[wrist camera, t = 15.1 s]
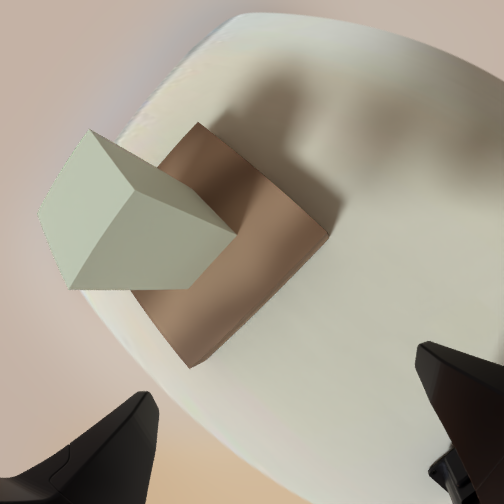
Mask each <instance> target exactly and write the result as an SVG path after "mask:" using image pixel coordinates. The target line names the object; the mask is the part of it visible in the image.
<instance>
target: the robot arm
mask: <svg viewBox="0 0 504 504" xmlns="http://www.w3.org/2000/svg"><path fill="white" fill-rule="evenodd" d="M415 368H416V371H417V373H418V375H419V378H420V380H421V382H422V384H423V387H424V389H425V391H426V394H427V396H428V398H429V401H430V403H431V405H432V406H433V408H434V410H435V412H436V414H437V415H438V417H439V419H440V421H441V423H442V424H443V426H444V428H445V430H446V432H447V434H448V436H449V438H450V439H451V441H452V443H453V445H454V447H455V448H454V449H453V450H452V451H451V452H450V453H449V454H447V455H446V456H445V457H444V458H443V459H441V460H440V461H439V462H438V463H436V464H435V465H434V466H432V467H431V468H430V469H429V470H428V474H429V476H430V477H431V478H432V479H433V480H434V481H436V482H437V483H438V484H439V485H440V486H441V487H442V488H444V489H445V490H446V491H447V492H448V493H449V495H450V497H451V500H452V503H453V504H504V366H502V365H499V364H496V363H493V362H490V361H487V360H484V359H481V358H478V357H475V356H472V355H469V354H466V353H463V352H460V351H457V350H454V349H451V348H448V347H445V346H443V345H440V344H437V343H434V342H431V341H426V342H424V343H421V344H419V345H418V347H417V353H416V360H415ZM158 422H159V409H158V407H157V405H156V403H155V401H154V399H153V397H152V395H151V393H150V392H148V391H139V392H137V393H135V394H134V395H133V396H131V397H130V398H129V399H128V400H126V401H125V402H124V403H123V404H121V405H120V406H119V407H117V408H116V409H115V410H114V411H112V412H111V413H110V414H108V415H107V416H106V417H104V418H103V419H102V420H100V421H99V422H98V423H96V424H95V425H94V426H93V427H91V428H90V429H89V430H87V431H86V432H85V433H83V434H82V435H80V436H79V437H78V438H77V439H75V440H74V441H73V442H71V443H70V445H67V446H65V447H64V448H63V449H61V450H60V451H58V452H57V453H56V454H54V455H53V456H51V457H49V458H48V459H46V460H44V461H43V462H41V463H39V464H38V465H36V466H34V467H32V468H30V469H29V470H27V471H25V472H23V473H21V474H20V475H17V476H15V477H10V478H0V504H145V502H146V497H147V491H148V485H149V480H150V475H151V471H152V466H153V461H154V457H155V451H156V443H157V432H158ZM434 470H435V471H434ZM433 471H434V472H433Z"/></svg>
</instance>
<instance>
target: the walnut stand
mask: <svg viewBox="0 0 504 504" xmlns="http://www.w3.org/2000/svg"><path fill="white" fill-rule="evenodd" d="M157 168H158V169H160V170H161V171H163V172H165V173H166V174H168V175H170V176H171V177H173V178H175V179H177V180H178V181H180V182H182V183H183V184H185V185H187V186H188V187H190V188H192V189H193V190H194V191H195V192H196V193H197V194H198V195H199V196H200V198H201V199H202V200H203V201H204V202H205V203H206V204H207V205H208V206H209V207H210V208H211V209H212V210H213V211H214V212H215V213H216V214H217V215H218V216H219V217H220V218H221V219H222V220H223V221H224V222H225V223H226V224H227V225H228V226H229V227H230V228H231V229H232V230H233V231H234V232H235V233H236V234H237V236H236V237H235V238H234V239H233V240H232V241H231V242H230V244H229V245H228V246H227V247H226V248H225V249H224V250H223V251H222V252H221V253H220V254H219V256H218V257H217V258H216V259H215V260H214V261H213V262H212V263H211V264H210V265H209V266H208V268H207V269H206V270H205V271H204V272H203V273H202V274H201V275H200V276H199V278H198V279H197V280H196V281H195V282H194V283H193V284H192V285H191V286H190V288H189V289H169V290H131V292H132V293H133V295H134V296H135V298H136V299H137V301H138V302H139V304H140V305H141V306H142V308H143V309H144V311H145V312H146V313H147V315H148V316H149V318H150V319H151V320H152V322H153V323H154V324H155V326H156V327H157V328H158V330H159V331H160V332H161V334H162V335H163V336H164V338H165V339H166V340H167V342H168V343H169V344H170V345H171V347H172V348H173V349H174V351H175V352H176V353H177V354H178V356H179V357H180V358H181V359H182V360H183V362H184V363H185V364H186V365H187V367H188V368H189V369H190V368H192V367H194V366H196V365H198V364H200V363H202V362H204V361H205V360H207V359H208V358H209V357H210V356H211V355H212V354H213V353H214V352H215V351H216V350H217V349H218V348H219V347H221V346H222V345H223V344H224V343H225V342H226V341H227V340H228V339H229V338H230V337H231V336H232V335H233V334H234V333H235V332H236V331H237V330H239V329H240V328H241V327H242V326H243V325H244V324H245V323H246V322H247V321H248V320H249V319H250V318H251V317H252V316H253V315H254V314H255V313H256V312H257V311H258V310H259V309H260V308H261V307H262V306H263V305H264V304H265V303H266V302H267V301H268V300H269V299H270V298H271V297H272V296H273V295H274V294H275V293H276V292H277V291H278V290H279V289H280V288H281V287H282V286H283V285H284V284H285V283H286V282H287V281H288V280H289V279H290V278H291V277H292V276H293V275H294V274H295V273H296V272H297V271H298V270H299V269H300V268H301V267H302V266H303V265H304V264H305V263H306V262H307V261H308V260H309V259H310V258H311V257H312V256H313V254H314V253H315V252H316V251H317V250H318V249H319V248H320V247H321V246H322V245H323V244H324V243H325V242H326V241H327V240H328V239H329V237H328V233H327V232H326V231H325V230H324V229H323V228H322V227H321V226H320V225H319V224H318V223H317V222H316V221H315V220H314V219H313V218H311V217H310V216H309V215H308V214H307V213H306V212H305V211H304V210H303V209H302V208H300V207H299V206H298V205H297V204H296V203H295V202H294V201H293V200H292V199H290V198H289V197H288V196H287V195H286V194H285V193H284V192H283V191H281V190H280V189H279V188H278V187H277V186H276V185H275V184H273V183H272V182H271V181H270V180H269V179H268V178H266V177H265V176H264V175H263V174H262V173H261V172H259V171H258V170H257V169H256V168H255V167H253V166H252V165H251V164H250V163H249V162H247V161H246V160H245V159H244V158H243V157H241V156H240V155H239V154H238V153H237V152H235V151H234V150H233V149H232V148H230V147H229V146H228V145H227V144H225V143H224V142H223V141H222V140H220V139H219V138H218V137H217V136H215V135H214V134H213V133H212V132H210V131H209V130H208V129H206V128H205V127H204V126H203V125H201V124H200V123H199V122H197V124H196V125H195V126H194V127H193V128H192V129H191V130H190V131H189V132H188V133H187V134H186V135H185V136H184V137H183V139H182V140H181V141H180V142H179V143H178V144H177V145H176V146H175V147H174V149H173V150H172V151H171V152H170V153H169V154H168V155H167V157H166V158H165V159H164V160H163V161H162V162H161V164H160V165H159V166H158V167H157Z"/></svg>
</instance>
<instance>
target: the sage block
mask: <svg viewBox="0 0 504 504" xmlns="http://www.w3.org/2000/svg"><path fill="white" fill-rule="evenodd" d="M37 215H38V218H39V220H40V223H41V226H42V229H43V231H44V234H45V236H46V239H47V242H48V244H49V247H50V249H51V252H52V254H53V257H54V259H55V261H56V264H57V266H58V268H59V270H60V273H61V275H62V277H63V279H64V281H65V283H66V285H67V287H68V289H69V290H169V289H189V288H190V286H191V285H192V284H193V283H194V282H195V281H196V280H197V279H198V278H199V276H200V275H201V274H202V273H203V272H204V271H205V270H206V269H207V268H208V266H209V265H210V264H211V263H212V262H213V261H214V260H215V259H216V258H217V257H218V256H219V254H220V253H221V252H222V251H223V250H224V249H225V248H226V247H227V246H228V245H229V244H230V242H231V241H232V240H233V239H234V238H235V237H236V236H237V234H236V233H235V232H234V231H233V230H232V229H231V228H230V227H229V226H228V225H227V224H226V223H225V222H224V221H223V220H222V219H221V218H220V217H219V216H218V215H217V214H216V213H215V212H214V211H213V210H212V209H211V208H210V207H209V206H208V205H207V204H206V203H205V202H204V201H203V200H202V199H201V198H200V196H199V195H198V194H197V193H196V192H195V191H194V190H193V189H192V188H190V187H188V186H187V185H185V184H183V183H182V182H180V181H178V180H177V179H175V178H173V177H171V176H170V175H168V174H166V173H165V172H163V171H161V170H160V169H158V168H156V167H155V166H153V165H151V164H149V163H148V162H146V161H144V160H143V159H141V158H139V157H137V156H136V155H134V154H132V153H131V152H129V151H127V150H125V149H124V148H122V147H120V146H118V145H117V144H115V143H113V142H111V141H110V140H108V139H106V138H104V137H103V136H101V135H99V134H97V133H95V132H93V131H92V130H90V129H89V130H88V131H87V133H86V134H85V136H84V137H83V138H82V140H81V141H80V143H79V144H78V146H77V147H76V148H75V150H74V151H73V153H72V155H71V156H70V158H69V159H68V160H67V162H66V164H65V165H64V167H63V168H62V170H61V172H60V174H59V175H58V177H57V178H56V180H55V182H54V183H53V185H52V187H51V188H50V190H49V192H48V194H47V196H46V198H45V199H44V201H43V203H42V205H41V207H40V209H39V211H38V213H37Z"/></svg>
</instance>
